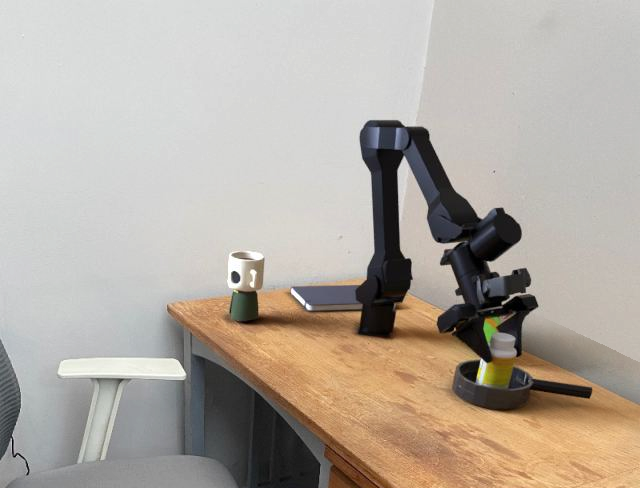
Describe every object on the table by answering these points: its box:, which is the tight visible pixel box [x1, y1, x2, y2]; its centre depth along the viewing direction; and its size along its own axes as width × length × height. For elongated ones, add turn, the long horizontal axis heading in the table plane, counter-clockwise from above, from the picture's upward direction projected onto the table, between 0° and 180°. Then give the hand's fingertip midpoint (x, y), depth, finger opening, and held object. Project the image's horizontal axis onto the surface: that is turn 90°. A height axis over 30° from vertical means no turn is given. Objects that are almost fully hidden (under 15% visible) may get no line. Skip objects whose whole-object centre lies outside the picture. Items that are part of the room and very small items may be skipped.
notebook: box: [289, 284, 397, 312], centre depth 176 cm, size 13×2×21 cm
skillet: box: [451, 359, 534, 411], centre depth 136 cm, size 13×13×4 cm
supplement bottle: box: [476, 333, 517, 389], centre depth 134 cm, size 6×6×10 cm
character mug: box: [227, 250, 266, 322], centre depth 158 cm, size 11×7×13 cm, turn 22°
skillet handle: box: [531, 377, 593, 400], centre depth 134 cm, size 10×2×2 cm, turn 77°
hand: (504, 359), depth 132 cm, fingers open, 7 cm apart
